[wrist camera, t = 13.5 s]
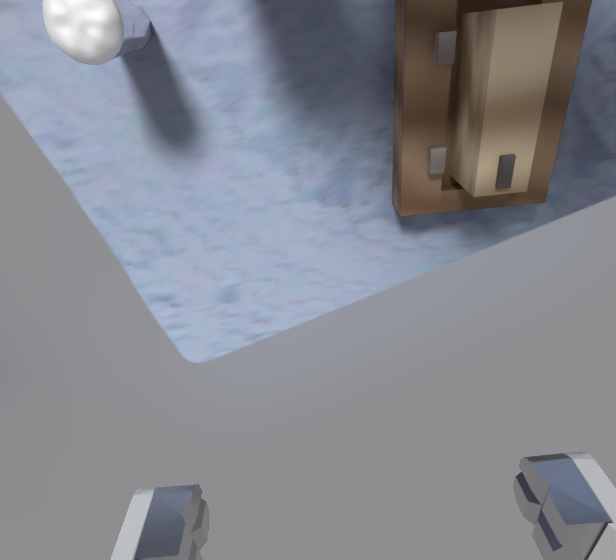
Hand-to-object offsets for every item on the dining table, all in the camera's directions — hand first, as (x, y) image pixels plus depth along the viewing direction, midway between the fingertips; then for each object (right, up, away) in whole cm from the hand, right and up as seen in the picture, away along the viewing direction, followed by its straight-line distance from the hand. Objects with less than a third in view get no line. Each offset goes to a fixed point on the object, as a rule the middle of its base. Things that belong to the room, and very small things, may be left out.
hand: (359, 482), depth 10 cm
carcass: (+13, +21, +24) cm, 34 cm away
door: (+13, +20, +22) cm, 33 cm away
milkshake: (-15, +25, +21) cm, 36 cm away
